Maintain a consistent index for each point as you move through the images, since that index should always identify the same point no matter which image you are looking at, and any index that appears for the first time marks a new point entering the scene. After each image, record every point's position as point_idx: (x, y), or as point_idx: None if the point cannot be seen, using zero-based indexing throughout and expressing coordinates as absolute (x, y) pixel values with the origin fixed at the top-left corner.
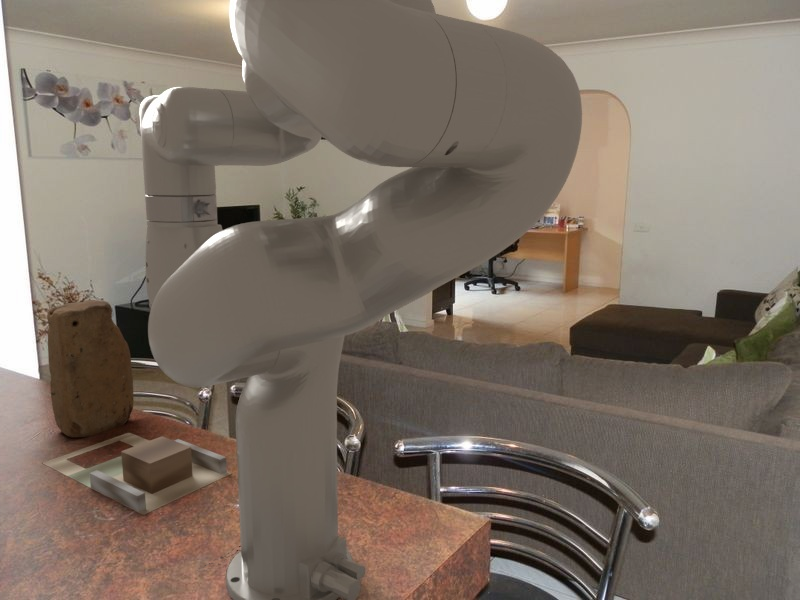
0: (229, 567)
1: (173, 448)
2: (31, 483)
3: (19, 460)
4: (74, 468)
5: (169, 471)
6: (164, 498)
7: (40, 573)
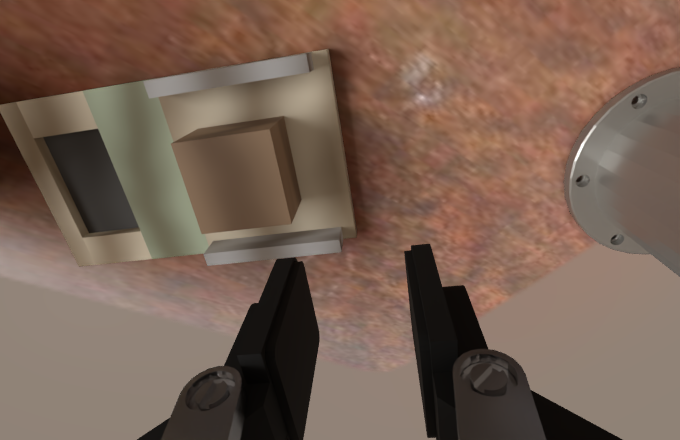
0: (588, 230)
1: (252, 159)
2: (129, 284)
3: (31, 269)
4: (128, 242)
5: (288, 173)
6: (330, 193)
7: (376, 348)
